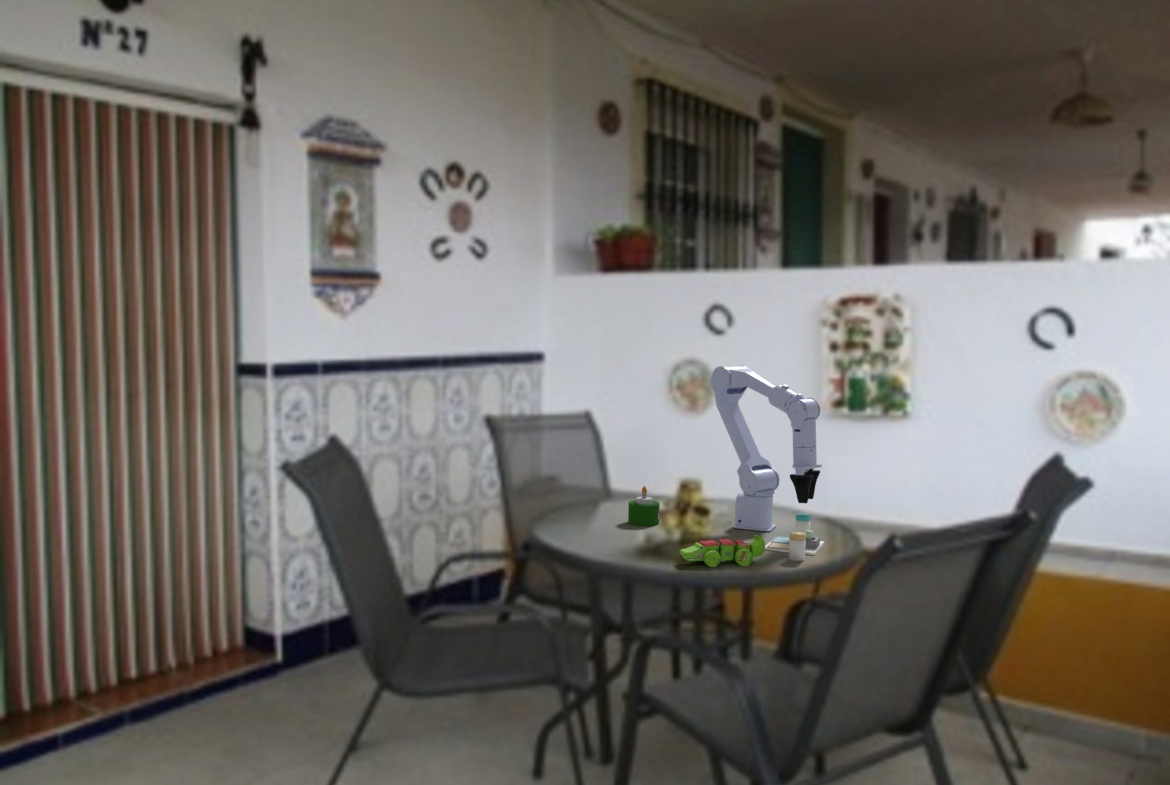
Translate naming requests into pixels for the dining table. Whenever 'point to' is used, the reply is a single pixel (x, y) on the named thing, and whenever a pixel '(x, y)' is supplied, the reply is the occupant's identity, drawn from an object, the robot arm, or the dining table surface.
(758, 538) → the toy crocodile
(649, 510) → the candle
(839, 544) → the dining table surface
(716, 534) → the dining table surface
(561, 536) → the dining table surface
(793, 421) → the robot arm
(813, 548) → the picture board
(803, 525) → the jar with teal lid
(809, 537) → the button
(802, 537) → the jar with tan lid
